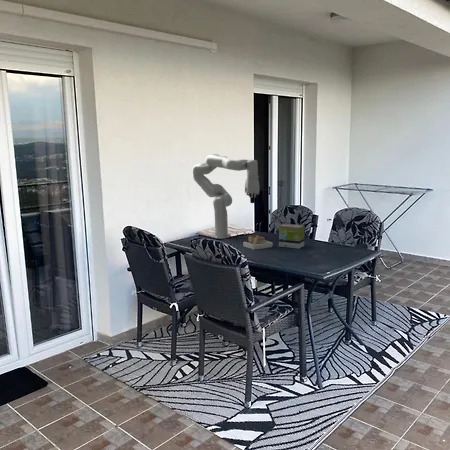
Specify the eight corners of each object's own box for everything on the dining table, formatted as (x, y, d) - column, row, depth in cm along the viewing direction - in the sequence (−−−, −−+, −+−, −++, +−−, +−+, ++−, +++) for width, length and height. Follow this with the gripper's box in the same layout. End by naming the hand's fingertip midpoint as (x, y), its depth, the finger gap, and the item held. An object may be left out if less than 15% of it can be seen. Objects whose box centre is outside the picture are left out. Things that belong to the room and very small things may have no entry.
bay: (243, 246, 321) (243, 241, 321) (261, 243, 329) (261, 239, 328) (253, 249, 310) (253, 245, 309) (272, 246, 317) (272, 242, 316)
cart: (247, 245, 322) (247, 236, 321) (257, 244, 326) (257, 235, 325) (255, 248, 314) (255, 239, 313) (265, 246, 318) (265, 237, 317)
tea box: (278, 247, 316) (278, 225, 314) (283, 244, 325) (283, 223, 323) (299, 249, 309) (300, 227, 307) (304, 246, 318) (304, 224, 316)
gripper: (258, 176, 340) (258, 201, 343) (240, 177, 333) (240, 203, 336) (264, 177, 333) (264, 202, 336) (246, 178, 326) (246, 204, 329)
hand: (252, 202), depth 336 cm, fingers closed
